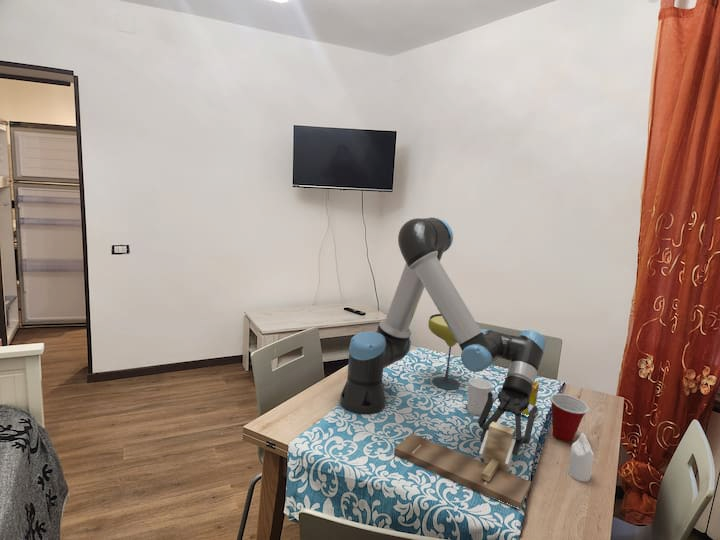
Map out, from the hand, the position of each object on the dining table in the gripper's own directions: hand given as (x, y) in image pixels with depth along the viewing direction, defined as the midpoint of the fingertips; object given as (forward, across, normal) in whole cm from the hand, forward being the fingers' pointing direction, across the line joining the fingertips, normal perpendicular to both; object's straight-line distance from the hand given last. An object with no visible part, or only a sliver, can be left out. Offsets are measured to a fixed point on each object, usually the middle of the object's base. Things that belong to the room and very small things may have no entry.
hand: (494, 460), depth 117 cm
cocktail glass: (-29, +33, -36) cm, 56 cm away
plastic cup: (-21, -11, -28) cm, 37 cm away
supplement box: (-27, +3, -34) cm, 43 cm away
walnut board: (+6, +8, -1) cm, 10 cm away
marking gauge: (+3, 0, -3) cm, 4 cm away
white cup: (-20, +16, -27) cm, 37 cm away
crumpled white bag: (-8, -18, -16) cm, 25 cm away
